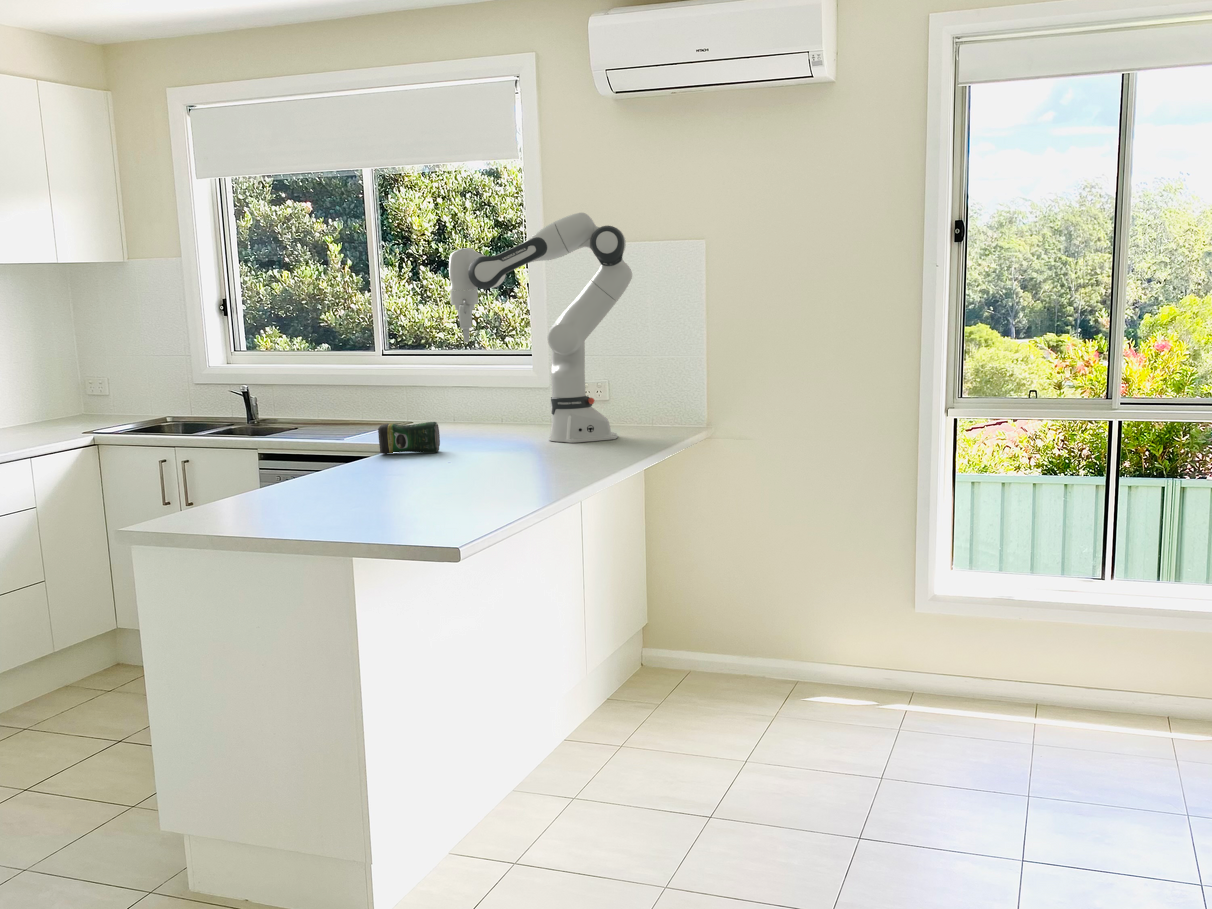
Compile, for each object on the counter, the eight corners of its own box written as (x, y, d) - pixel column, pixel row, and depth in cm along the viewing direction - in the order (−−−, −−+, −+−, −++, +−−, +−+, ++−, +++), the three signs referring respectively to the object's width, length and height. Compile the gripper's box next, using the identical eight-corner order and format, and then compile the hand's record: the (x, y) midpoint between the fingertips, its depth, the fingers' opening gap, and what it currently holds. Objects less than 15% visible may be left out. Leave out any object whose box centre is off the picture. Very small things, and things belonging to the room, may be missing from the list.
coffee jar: (439, 419, 344) (380, 421, 344) (435, 424, 337) (375, 426, 337) (441, 449, 347) (382, 451, 347) (437, 455, 339) (377, 457, 339)
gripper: (474, 298, 345) (476, 342, 347) (473, 298, 365) (476, 340, 367) (454, 299, 344) (456, 343, 346) (454, 299, 364) (457, 341, 366)
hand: (466, 342), depth 357 cm, fingers closed
